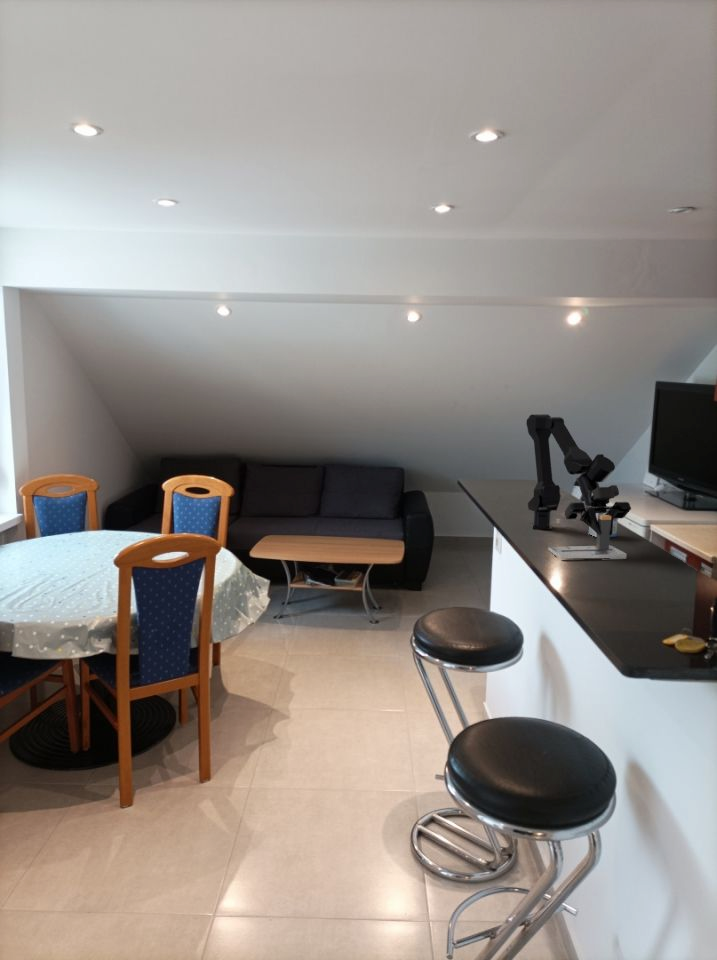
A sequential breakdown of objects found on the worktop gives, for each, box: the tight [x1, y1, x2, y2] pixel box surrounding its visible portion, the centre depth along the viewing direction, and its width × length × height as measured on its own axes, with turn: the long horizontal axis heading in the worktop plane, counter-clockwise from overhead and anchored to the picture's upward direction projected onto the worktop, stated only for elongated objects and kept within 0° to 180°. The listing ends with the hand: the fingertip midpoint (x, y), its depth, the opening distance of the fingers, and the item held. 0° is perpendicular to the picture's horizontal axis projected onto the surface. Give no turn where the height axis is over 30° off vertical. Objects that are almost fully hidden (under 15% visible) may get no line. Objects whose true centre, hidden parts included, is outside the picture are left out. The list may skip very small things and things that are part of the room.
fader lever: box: [595, 515, 611, 550], centre depth 192 cm, size 3×2×10 cm, turn 97°
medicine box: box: [588, 513, 619, 538], centre depth 215 cm, size 8×4×9 cm, turn 105°
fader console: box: [548, 544, 628, 560], centre depth 193 cm, size 20×9×2 cm, turn 97°
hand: (605, 534), depth 191 cm, fingers closed on fader lever, 3 cm apart
